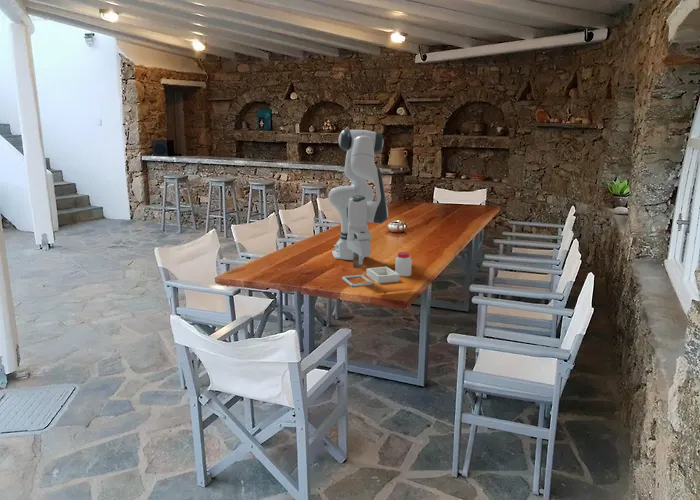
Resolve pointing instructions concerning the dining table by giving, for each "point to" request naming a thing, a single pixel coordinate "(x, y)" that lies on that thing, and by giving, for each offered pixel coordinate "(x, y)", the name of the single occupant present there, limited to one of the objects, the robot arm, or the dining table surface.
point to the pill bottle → (403, 264)
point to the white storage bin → (382, 274)
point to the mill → (356, 261)
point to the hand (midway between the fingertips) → (358, 262)
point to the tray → (357, 284)
